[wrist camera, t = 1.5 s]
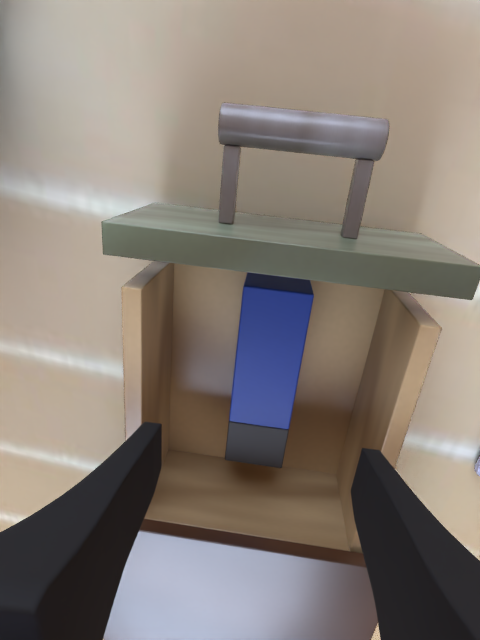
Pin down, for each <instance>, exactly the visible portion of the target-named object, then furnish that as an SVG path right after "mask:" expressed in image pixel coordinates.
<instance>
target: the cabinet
mask: <svg viewBox="0 0 480 640" xmlns="http://www.w3.org/2000/svg"><path fill="white" fill-rule="evenodd" d="M377 623H378V618H377V612H376V606H375V601H374V596H373V591H372V587H371V583H370V579H369V575H368V571H367V568H366V564H365V560H364V556H363V553H358V552H351V551H345V550H339V549H332V548H326V547H320V546H314V545H307V544H301V543H295V542H288V541H282V540H276V539H269V538H263V537H257V536H251V535H244V534H238V533H232V532H225V531H219V530H213V529H206V528H200V527H194V526H187V525H181V524H175V523H169V522H162V521H156V520H150V519H144V520H143V522H142V525H141V527H140V530H139V532H138V535H137V537H136V539H135V542H134V544H133V547H132V549H131V552H130V554H129V557H128V559H127V562H126V565H125V568H124V571H123V574H122V577H121V580H120V584H119V587H118V590H117V593H116V596H115V600H114V603H113V606H112V610H111V613H110V617H109V620H108V623H107V627H106V630H105V634H104V637H103V639H104V640H371V638H372V636H373V633H374V631H375V628H376V626H377Z"/></svg>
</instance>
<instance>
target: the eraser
mask: <svg viewBox="0 0 480 640" xmlns="http://www.w3.org/2000/svg"><path fill="white" fill-rule="evenodd" d="M313 298H314V294H313V290H312V285H311V281H310V280H306V279H298V278H289V277H281V276H273V275H265V274H257V273H249V272H247V275H246V279H245V282H244V286H243V293H242V302H241V312H240V321H239V330H238V339H237V349H236V358H235V367H234V377H233V386H232V395H231V405H230V414H229V423H228V432H227V442H226V451H225V460H228V461H235V462H242V463H248V464H255V465H262V466H268V467H275V468H282V465H283V459H284V454H285V448H286V443H287V438H288V432H289V427H290V421H291V416H292V411H293V405H294V400H295V395H296V389H297V384H298V379H299V373H300V368H301V362H302V357H303V352H304V346H305V341H306V336H307V330H308V325H309V320H310V314H311V309H312V304H313Z"/></svg>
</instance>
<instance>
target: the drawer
mask: <svg viewBox="0 0 480 640" xmlns="http://www.w3.org/2000/svg"><path fill="white" fill-rule="evenodd" d="M388 134H389V121H388V120H387V119H382V118H372V117H362V116H352V115H342V114H332V113H322V112H312V111H303V110H293V109H283V108H273V107H263V106H253V105H243V104H234V103H222V105H221V108H220V114H219V125H218V137H219V142H220V144H222V145H225V146H224V152H223V165H222V179H221V192H220V205H219V210H214V209H205V208H196V207H188V206H179V205H170V204H162V203H153V204H150V205H147V206H144V207H141V208H139V209H136V210H133V211H130V212H127V213H125V214H122V215H119V216H116V217H113V218H111V219H108V220H105V221H102V245H103V254H104V255H112V256H120V257H128V258H136V259H144V260H152V261H153V262H152V263H151V264H149V265H148V266H147V267H146V268H144V269H143V270H142V271H141V272H140V273H138V274H137V275H136V276H135V277H133V278H132V279H131V280H130V281H128V282H127V283H126V284H125V285H124V286H122V288H121V289H122V328H123V367H124V407H125V441H126V440H127V439H128V438H129V437H130V436H131V435H132V434H133V433H134V432H135V431H136V430H137V429H138V428H139V427H140V426H141V425H142V424H143V423H144V422H151V423H160V424H162V467H161V471H160V475H159V478H158V482H157V485H156V489H155V492H154V495H153V498H152V500H151V503H150V505H149V508H148V510H147V513H146V515H145V518H144V519H150V520H156V521H162V522H169V523H175V524H181V525H187V526H194V527H200V528H206V529H213V530H219V531H225V532H232V533H238V534H244V535H251V536H257V537H263V538H269V539H276V540H282V541H288V542H295V543H301V544H307V545H314V546H320V547H326V548H332V549H339V550H345V551H351V552H358V553H363V552H362V548H361V544H360V540H359V537H358V533H357V529H356V524H355V520H354V514H353V507H352V499H351V487H352V483H353V480H354V476H355V472H356V469H357V465H358V461H359V458H360V454H361V450H362V448H367V449H375V450H380V451H381V453H382V454H383V455H384V456H385V458H386V459H387V460H388V461H389V463H390V464H391V465H392V467H393V468H395V465H396V462H397V459H398V456H399V453H400V450H401V447H402V444H403V441H404V438H405V435H406V432H407V430H408V427H409V424H410V421H411V418H412V415H413V412H414V409H415V406H416V403H417V400H418V397H419V394H420V391H421V388H422V385H423V383H424V380H425V377H426V374H427V371H428V368H429V365H430V362H431V359H432V356H433V353H434V350H435V347H436V344H437V341H438V338H439V335H440V333H441V330H442V328H441V327H440V326H439V324H438V323H437V322H436V321H435V320H434V319H433V318H432V317H431V316H430V315H429V314H428V313H427V312H426V311H425V310H424V309H423V308H422V307H421V305H420V304H419V303H418V302H417V301H416V300H415V299H414V298H413V297H412V296H411V295H410V294H409V293H408V292H411V293H419V294H427V295H435V296H443V297H451V298H459V299H467V300H472V299H473V297H474V294H475V291H476V289H477V286H478V283H479V280H480V265H479V264H477V263H475V262H473V261H471V260H470V259H468V258H466V257H464V256H462V255H460V254H458V253H457V252H455V251H453V250H451V249H449V248H447V247H445V246H444V245H442V244H440V243H438V242H436V241H434V240H432V239H431V238H429V237H427V236H425V235H423V234H421V233H412V232H404V231H395V230H386V229H378V228H369V227H360V224H361V220H362V215H363V210H364V206H365V201H366V197H367V192H368V188H369V183H370V179H371V174H372V170H373V165H374V161H378V160H380V158H381V157H382V155H383V153H384V150H385V147H386V144H387V140H388ZM239 146H240V147H250V148H259V149H268V150H278V151H287V152H296V153H306V154H315V155H324V156H334V157H343V158H353V159H356V160H355V165H354V170H353V175H352V180H351V185H350V190H349V195H348V199H347V204H346V209H345V214H344V219H343V224H334V223H326V222H317V221H309V220H300V219H291V218H283V217H274V216H265V215H257V214H248V213H239V212H235V207H236V196H237V185H238V174H239V163H240V152H241V148H240V147H239ZM247 272H249V273H257V274H265V275H273V276H281V277H289V278H298V279H306V280H310V281H311V285H312V290H313V294H314V298H313V304H312V309H311V314H310V320H309V325H308V330H307V336H306V341H305V346H304V352H303V357H302V362H301V368H300V373H299V379H298V384H297V389H296V395H295V400H294V405H293V411H292V416H291V421H290V427H289V432H288V438H287V443H286V448H285V454H284V459H283V465H282V468H275V467H268V466H262V465H255V464H248V463H242V462H235V461H228V460H225V451H226V442H227V432H228V423H229V414H230V405H231V395H232V386H233V377H234V367H235V358H236V349H237V339H238V330H239V321H240V312H241V302H242V293H243V286H244V282H245V279H246V275H247Z"/></svg>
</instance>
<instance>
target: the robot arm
mask: <svg viewBox="0 0 480 640" xmlns="http://www.w3.org/2000/svg"><path fill="white" fill-rule="evenodd" d="M161 467H162V424H160V423H151V422H144V423H143V424H142V425H141V426H140V427H139V428H138V429H137V430H136V431H135V432H134V433H133V434H132V435H131V436H130V437H129V438H128V439H127V440H126V441H125V442H124V443H123V444H122V445H121V446H120V447H119V448H118V449H117V450H116V451H115V452H114V453H113V454H112V455H111V456H110V457H109V458H107V459H106V460H105V461H104V462H103V463H102V464H101V465H100V466H98V467H97V468H96V469H95V470H94V471H93V472H91V473H90V474H89V475H88V476H87V477H85V478H84V479H83V480H82V481H80V482H79V483H78V484H77V485H75V486H74V487H73V488H71V489H70V490H69V491H67V492H66V493H64V494H63V495H62V496H60V497H59V498H57V499H56V500H54V501H53V502H51V503H50V504H48V505H47V506H45V507H44V508H42V509H41V510H39V511H37V512H36V513H34V514H33V515H31V516H29V517H28V518H26V519H24V520H22V521H20V522H19V523H17V524H15V525H13V526H11V527H10V528H8V529H6V530H4V531H2V532H0V640H103V637H104V634H105V630H106V627H107V623H108V620H109V617H110V613H111V610H112V606H113V603H114V600H115V596H116V593H117V590H118V587H119V584H120V580H121V577H122V574H123V571H124V568H125V565H126V562H127V559H128V557H129V554H130V552H131V549H132V547H133V544H134V542H135V539H136V537H137V535H138V532H139V530H140V527H141V525H142V522H143V520H144V518H145V515H146V513H147V510H148V508H149V505H150V503H151V500H152V498H153V495H154V492H155V489H156V485H157V482H158V478H159V475H160V471H161ZM474 469H475V472H476V473H477V475H478V476H480V456H479V458H478V460H477V463H476V465H475V468H474ZM351 499H352V507H353V514H354V520H355V524H356V529H357V533H358V537H359V540H360V544H361V548H362V552H363V556H364V560H365V564H366V568H367V571H368V575H369V579H370V583H371V587H372V591H373V596H374V601H375V606H376V612H377V618H378V624H379V630H380V637H381V640H480V561H479V560H478V559H477V558H476V557H475V556H474V555H473V554H471V553H470V552H469V551H468V550H467V549H466V548H465V547H464V546H463V545H462V544H461V543H460V542H459V541H458V540H457V539H456V538H455V537H454V536H453V535H451V534H450V533H449V531H448V530H447V529H446V528H445V527H444V526H443V525H442V524H441V523H440V522H439V521H438V520H437V519H436V518H435V517H434V516H433V515H432V513H431V512H430V511H429V510H428V509H427V508H426V507H425V506H424V505H423V503H422V502H421V501H420V500H419V499H418V498H417V496H416V495H415V494H414V493H413V492H412V490H411V489H410V488H409V487H408V486H407V484H406V483H405V482H404V481H403V479H402V478H401V477H400V475H399V474H398V473H397V472H396V470H395V469H394V468H393V467H392V465H391V464H390V463H389V461H388V460H387V459H386V458H385V456H384V455H383V454H382V453H381V451H380V450H375V449H367V448H362V450H361V454H360V458H359V461H358V465H357V469H356V472H355V476H354V480H353V483H352V487H351Z"/></svg>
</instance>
